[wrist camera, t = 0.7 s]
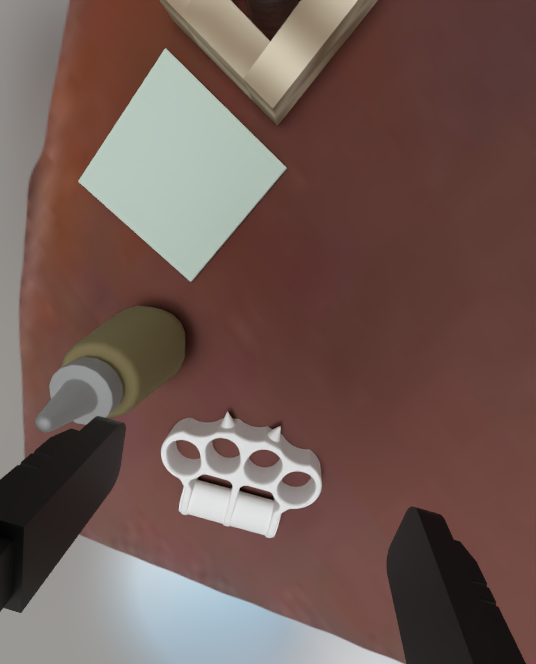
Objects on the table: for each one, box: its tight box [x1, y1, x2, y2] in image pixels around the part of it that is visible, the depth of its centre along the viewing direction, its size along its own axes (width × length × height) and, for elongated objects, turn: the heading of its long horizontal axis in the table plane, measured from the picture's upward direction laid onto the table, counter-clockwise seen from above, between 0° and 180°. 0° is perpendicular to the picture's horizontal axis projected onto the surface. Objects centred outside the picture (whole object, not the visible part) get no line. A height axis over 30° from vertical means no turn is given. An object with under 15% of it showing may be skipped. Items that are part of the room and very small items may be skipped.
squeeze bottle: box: [35, 306, 185, 432], centre depth 30 cm, size 8×8×18 cm
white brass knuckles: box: [161, 411, 322, 538], centre depth 41 cm, size 3×18×15 cm
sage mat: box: [78, 48, 287, 282], centre depth 34 cm, size 14×14×1 cm
